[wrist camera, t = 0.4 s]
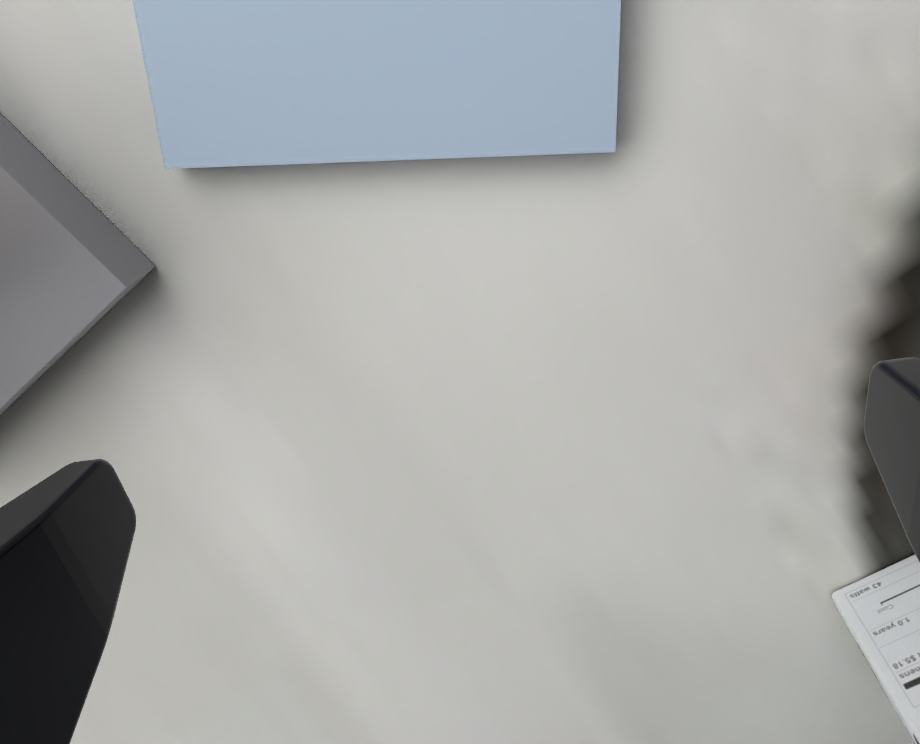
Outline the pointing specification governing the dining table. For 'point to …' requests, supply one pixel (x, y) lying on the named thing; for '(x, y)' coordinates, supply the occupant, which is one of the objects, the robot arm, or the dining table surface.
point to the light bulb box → (889, 633)
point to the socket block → (51, 264)
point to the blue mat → (379, 79)
